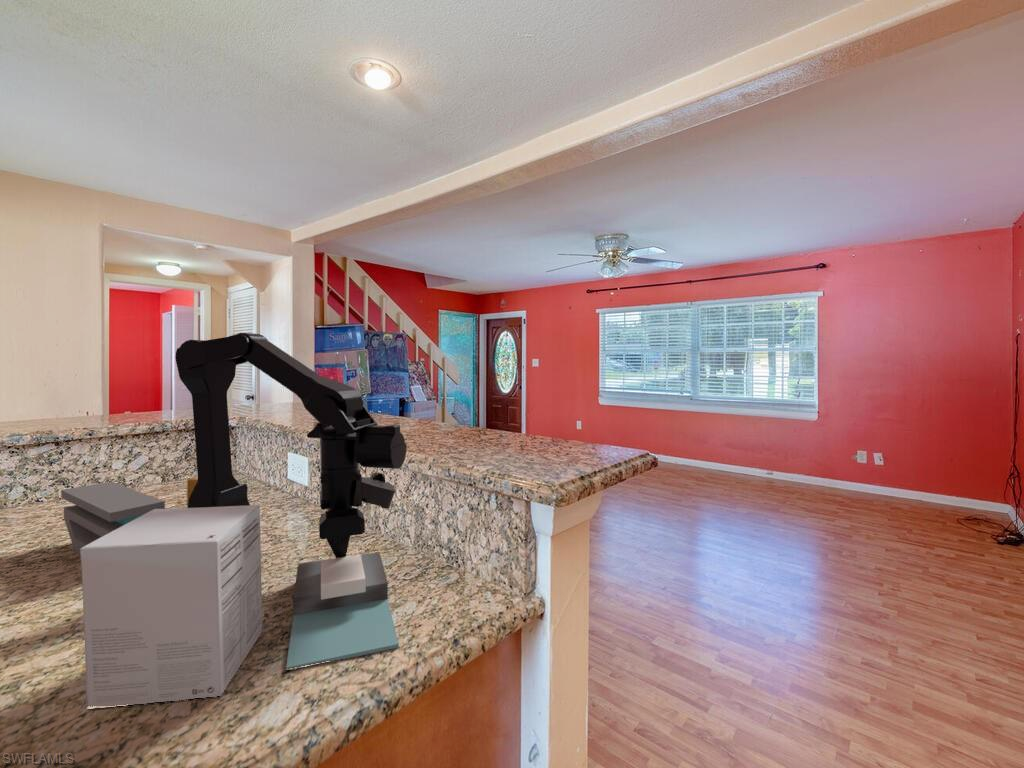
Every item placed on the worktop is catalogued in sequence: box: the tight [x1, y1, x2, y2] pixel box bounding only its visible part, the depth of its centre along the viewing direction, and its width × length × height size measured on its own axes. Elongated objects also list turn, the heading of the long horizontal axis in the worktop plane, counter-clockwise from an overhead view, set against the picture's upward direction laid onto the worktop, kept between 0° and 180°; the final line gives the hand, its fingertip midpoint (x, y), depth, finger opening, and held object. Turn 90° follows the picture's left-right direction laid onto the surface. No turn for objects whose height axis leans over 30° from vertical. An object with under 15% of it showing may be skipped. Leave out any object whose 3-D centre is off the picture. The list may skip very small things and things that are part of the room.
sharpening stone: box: [60, 480, 166, 557], centre depth 88 cm, size 25×8×11 cm, turn 58°
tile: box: [321, 554, 366, 600], centre depth 71 cm, size 6×9×2 cm, turn 22°
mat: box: [285, 598, 400, 670], centre depth 63 cm, size 13×12×1 cm
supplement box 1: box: [80, 504, 263, 707], centre depth 56 cm, size 13×13×18 cm
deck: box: [292, 551, 389, 615], centre depth 74 cm, size 13×12×3 cm
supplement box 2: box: [186, 475, 198, 508], centre depth 105 cm, size 3×3×10 cm
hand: (341, 560), depth 76 cm, fingers closed
